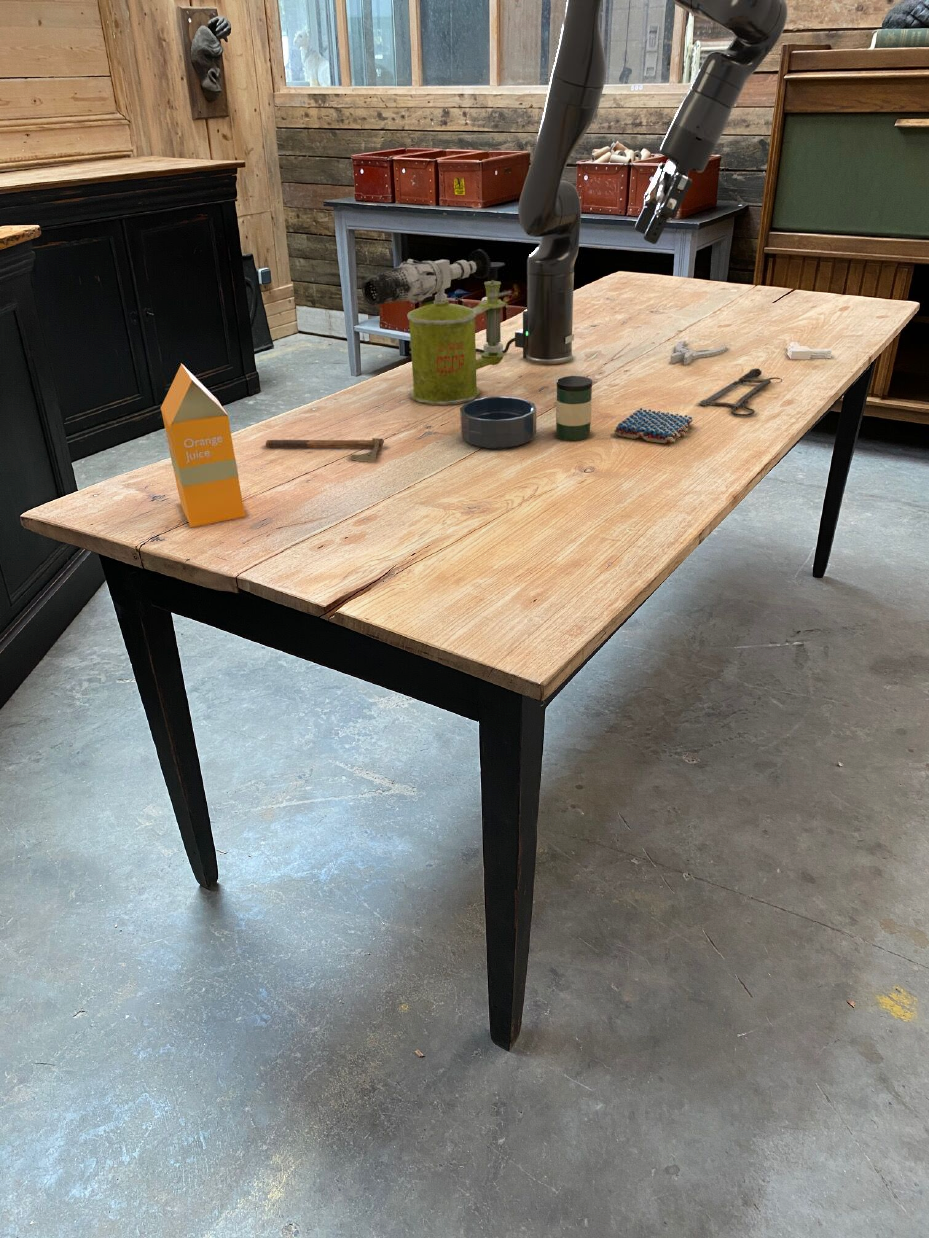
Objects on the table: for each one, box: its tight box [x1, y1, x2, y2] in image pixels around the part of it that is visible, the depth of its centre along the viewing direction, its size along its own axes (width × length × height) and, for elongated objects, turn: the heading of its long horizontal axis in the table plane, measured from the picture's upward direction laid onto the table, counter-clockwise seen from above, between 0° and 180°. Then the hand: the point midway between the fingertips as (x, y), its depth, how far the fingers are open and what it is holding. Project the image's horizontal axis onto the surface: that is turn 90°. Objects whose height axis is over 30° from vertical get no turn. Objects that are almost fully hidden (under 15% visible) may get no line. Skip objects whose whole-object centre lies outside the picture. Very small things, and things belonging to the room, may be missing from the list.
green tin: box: [555, 375, 593, 442], centre depth 152 cm, size 6×6×9 cm
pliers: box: [669, 339, 728, 366], centre depth 192 cm, size 10×2×15 cm
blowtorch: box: [361, 248, 508, 406], centre depth 169 cm, size 13×33×25 cm, turn 137°
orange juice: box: [160, 363, 246, 528], centre depth 128 cm, size 8×9×20 cm
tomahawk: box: [265, 437, 385, 463], centre depth 151 cm, size 20×7×1 cm, turn 83°
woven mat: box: [613, 407, 694, 444], centre depth 154 cm, size 10×11×2 cm
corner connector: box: [786, 341, 832, 360], centre depth 190 cm, size 8×8×2 cm
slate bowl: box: [459, 395, 538, 449], centre depth 153 cm, size 12×12×5 cm
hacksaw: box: [698, 367, 783, 417], centre depth 169 cm, size 24×10×2 cm, turn 141°
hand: (644, 236), depth 150 cm, fingers open, 8 cm apart
